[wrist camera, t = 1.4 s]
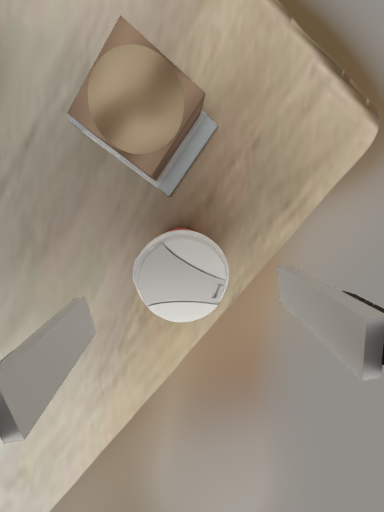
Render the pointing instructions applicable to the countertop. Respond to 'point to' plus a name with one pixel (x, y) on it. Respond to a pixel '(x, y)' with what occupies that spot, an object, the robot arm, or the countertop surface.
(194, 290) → the coffee cup
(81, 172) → the countertop surface
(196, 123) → the build plate
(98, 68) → the pedestal
